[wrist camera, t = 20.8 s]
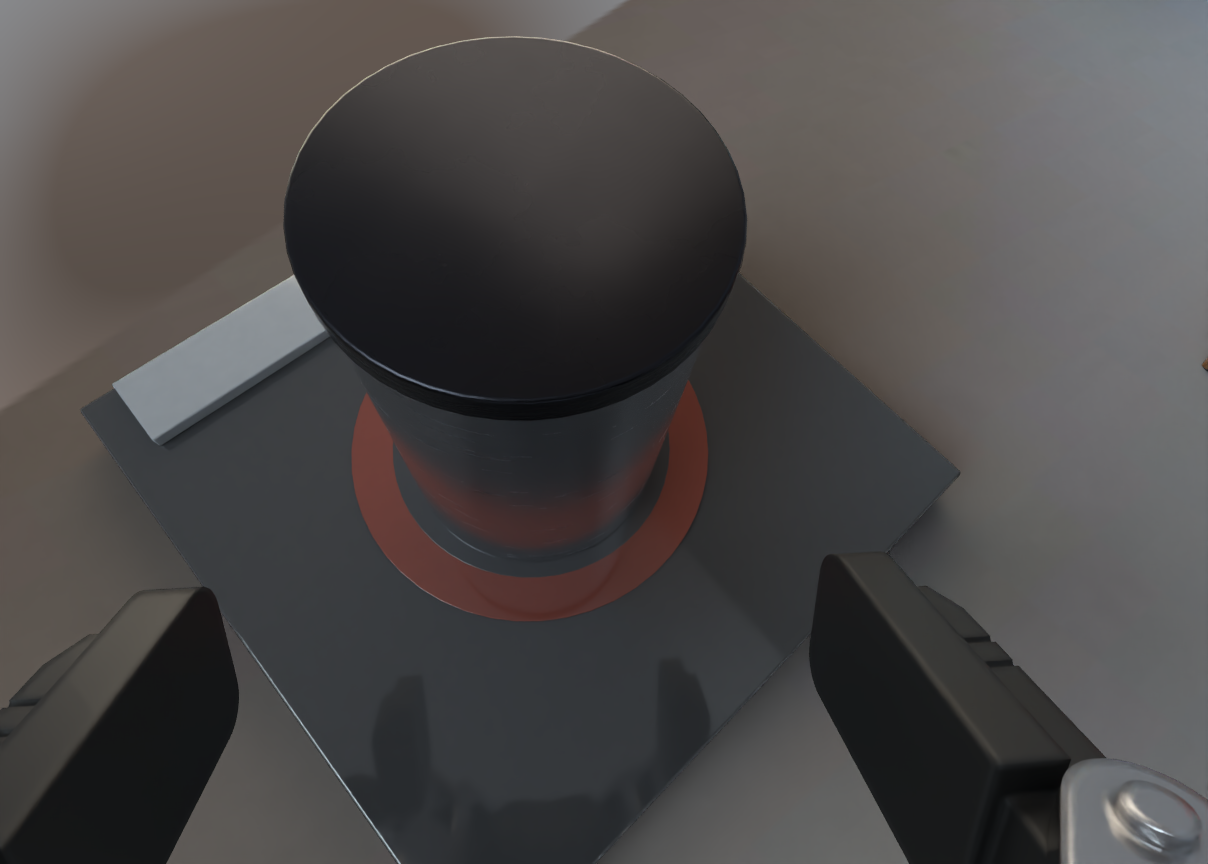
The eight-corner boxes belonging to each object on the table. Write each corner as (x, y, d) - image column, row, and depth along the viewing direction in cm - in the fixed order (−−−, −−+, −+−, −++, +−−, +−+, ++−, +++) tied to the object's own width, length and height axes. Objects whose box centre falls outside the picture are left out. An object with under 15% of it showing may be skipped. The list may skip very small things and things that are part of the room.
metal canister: (548, 299, 19) (547, -21, 11) (705, 457, 18) (840, 223, 10) (359, 432, 17) (188, 165, 9) (517, 622, 16) (482, 507, 8)
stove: (563, 151, 24) (564, 104, 22) (934, 490, 20) (972, 466, 18) (112, 432, 19) (66, 401, 17) (488, 962, 15) (479, 994, 13)
